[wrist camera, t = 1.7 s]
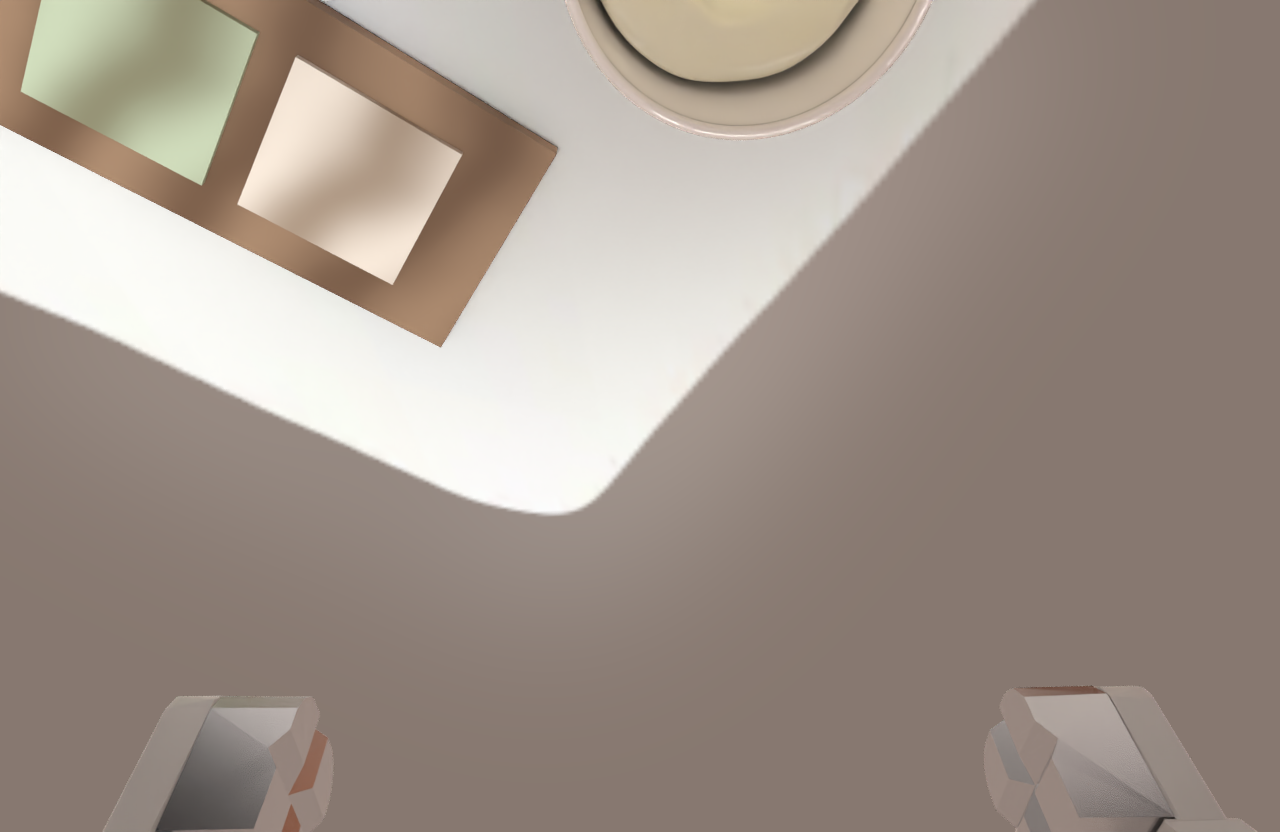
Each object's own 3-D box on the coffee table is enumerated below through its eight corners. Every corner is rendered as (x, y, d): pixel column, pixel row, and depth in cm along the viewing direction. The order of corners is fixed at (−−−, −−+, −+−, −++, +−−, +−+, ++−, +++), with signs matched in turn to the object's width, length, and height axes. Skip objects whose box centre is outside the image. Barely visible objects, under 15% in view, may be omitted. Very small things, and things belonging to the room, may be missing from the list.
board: (-62, 81, 34) (-80, 89, 34) (-12, -204, 29) (-33, -204, 28) (443, 338, 42) (439, 350, 41) (557, 147, 36) (555, 156, 35)
